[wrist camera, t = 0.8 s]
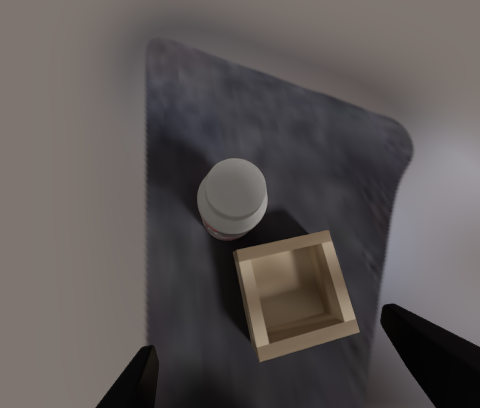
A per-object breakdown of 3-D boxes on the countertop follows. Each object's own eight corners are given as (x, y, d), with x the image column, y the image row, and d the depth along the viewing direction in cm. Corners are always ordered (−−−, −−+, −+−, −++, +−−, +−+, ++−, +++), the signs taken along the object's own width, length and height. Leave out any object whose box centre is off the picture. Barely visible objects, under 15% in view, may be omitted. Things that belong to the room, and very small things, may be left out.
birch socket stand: (334, 319, 22) (359, 331, 18) (251, 343, 21) (259, 362, 17) (310, 235, 24) (328, 230, 20) (232, 251, 23) (236, 250, 19)
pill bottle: (194, 232, 23) (180, 212, 13) (211, 185, 24) (208, 136, 15) (245, 248, 23) (266, 239, 13) (258, 200, 24) (286, 161, 15)
